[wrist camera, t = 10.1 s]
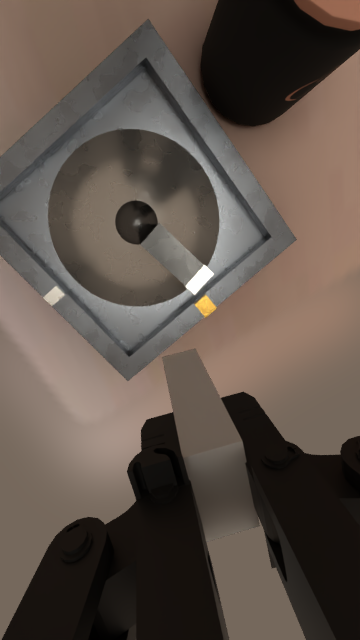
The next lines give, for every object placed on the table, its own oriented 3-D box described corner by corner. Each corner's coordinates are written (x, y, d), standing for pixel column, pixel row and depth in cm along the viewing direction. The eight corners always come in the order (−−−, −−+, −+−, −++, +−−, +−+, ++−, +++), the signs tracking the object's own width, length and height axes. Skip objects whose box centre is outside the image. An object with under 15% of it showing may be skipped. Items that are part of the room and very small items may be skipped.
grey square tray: (146, 45, 31) (148, 14, 27) (280, 239, 38) (299, 239, 33) (-29, 208, 33) (-55, 204, 28) (128, 367, 39) (127, 383, 35)
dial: (15, 228, 32) (-14, 226, 26) (127, 91, 30) (124, 54, 24) (144, 334, 36) (145, 354, 30) (248, 220, 35) (272, 216, 28)
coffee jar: (259, 151, 35) (378, 68, 18) (178, 86, 33) (224, -84, 15) (317, 58, 34) (508, -130, 16) (236, -17, 31) (362, -337, 14)
